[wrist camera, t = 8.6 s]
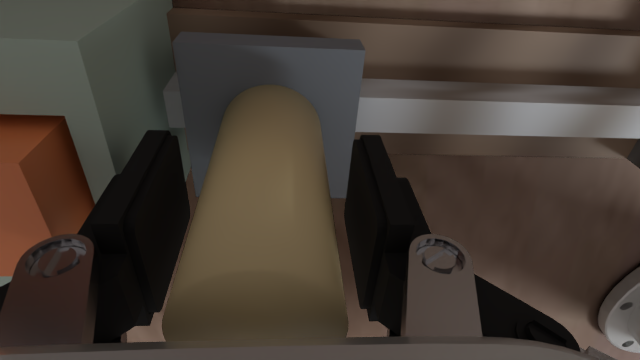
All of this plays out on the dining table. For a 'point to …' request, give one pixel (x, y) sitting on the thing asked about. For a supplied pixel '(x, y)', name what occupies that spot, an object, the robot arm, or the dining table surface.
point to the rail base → (468, 82)
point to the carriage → (264, 185)
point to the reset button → (38, 184)
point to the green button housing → (90, 75)
